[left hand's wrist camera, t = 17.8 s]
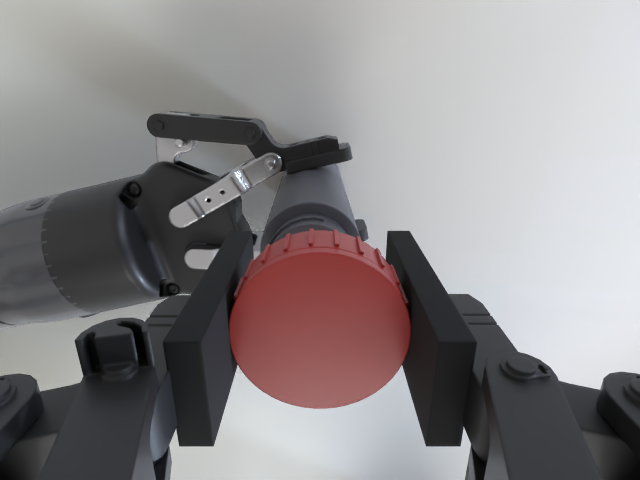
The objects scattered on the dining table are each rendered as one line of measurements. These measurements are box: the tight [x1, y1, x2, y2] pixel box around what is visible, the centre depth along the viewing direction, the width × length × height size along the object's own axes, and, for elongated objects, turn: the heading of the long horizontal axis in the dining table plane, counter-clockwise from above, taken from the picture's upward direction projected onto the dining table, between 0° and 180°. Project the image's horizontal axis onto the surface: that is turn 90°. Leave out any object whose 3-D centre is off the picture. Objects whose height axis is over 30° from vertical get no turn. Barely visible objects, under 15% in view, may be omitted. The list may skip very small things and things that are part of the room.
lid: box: [229, 228, 411, 408], centre depth 11 cm, size 5×5×2 cm
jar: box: [260, 164, 360, 254], centre depth 23 cm, size 4×4×16 cm
